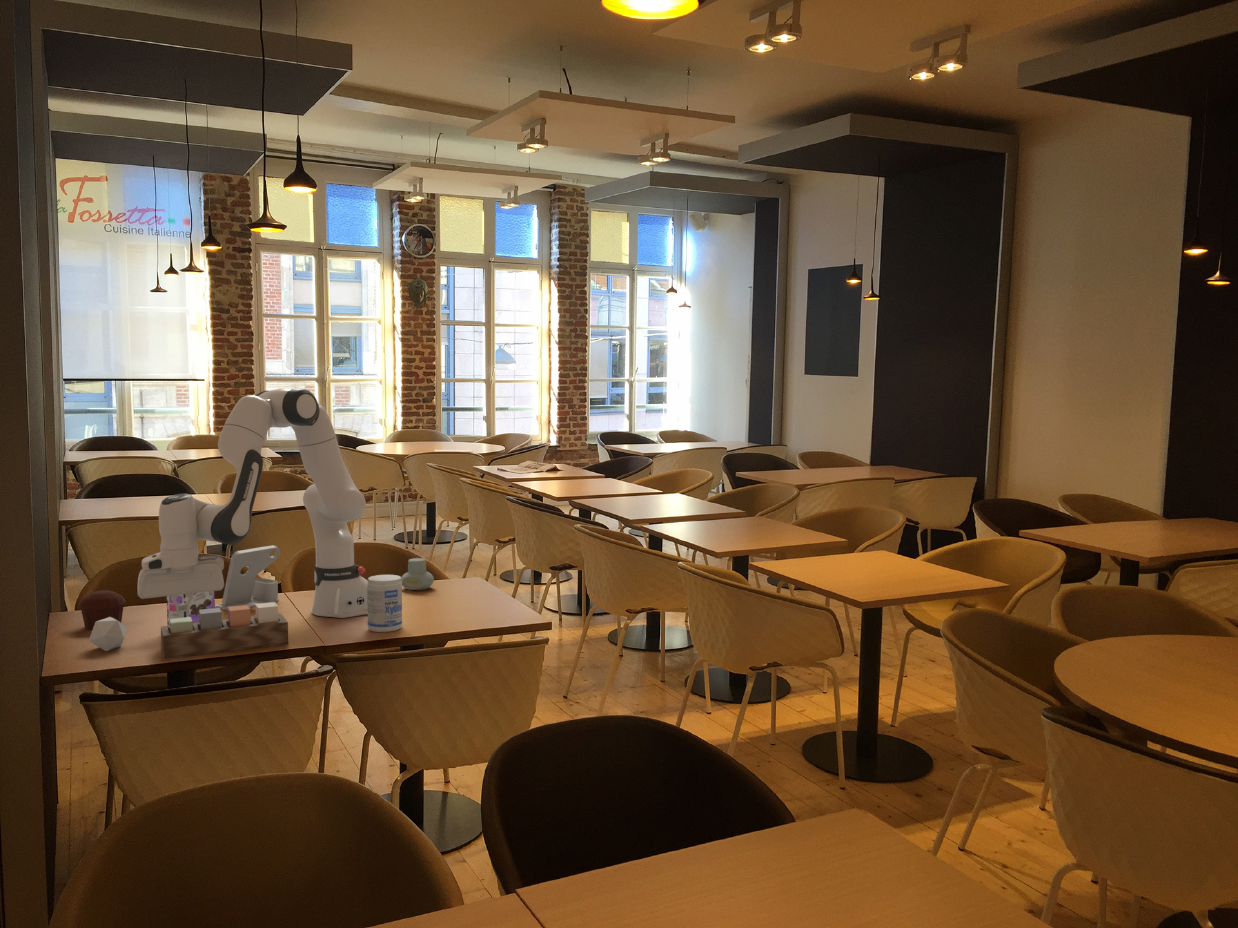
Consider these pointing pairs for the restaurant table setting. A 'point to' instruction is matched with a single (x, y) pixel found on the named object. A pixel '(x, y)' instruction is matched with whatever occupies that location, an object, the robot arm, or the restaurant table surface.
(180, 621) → the sage key
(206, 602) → the candy box
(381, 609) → the supplement tub
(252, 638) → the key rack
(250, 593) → the phone holder
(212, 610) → the slate key
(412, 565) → the air freshener
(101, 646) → the die
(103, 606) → the muffin
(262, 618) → the ivory key
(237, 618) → the terracotta key
